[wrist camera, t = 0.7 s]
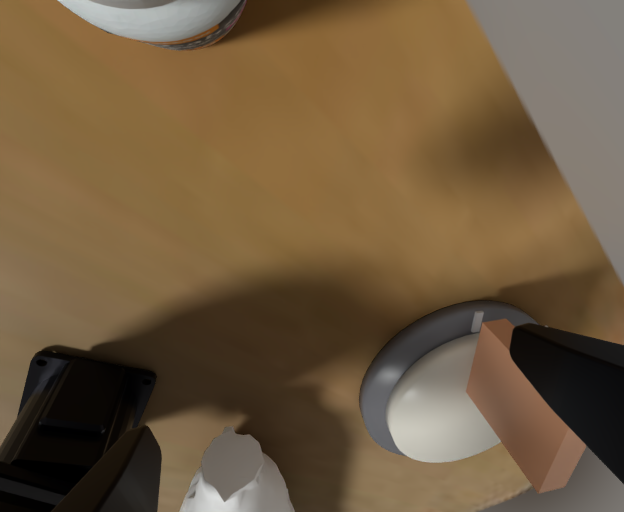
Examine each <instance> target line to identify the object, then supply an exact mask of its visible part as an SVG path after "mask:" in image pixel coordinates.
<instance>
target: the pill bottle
mask: <svg viewBox="0 0 624 512" xmlns="http://www.w3.org/2000/svg"><path fill="white" fill-rule="evenodd" d="M58 1H59V2H60V3H61V4H63V5H64V6H65V7H67V8H68V9H69V10H71V11H72V12H74V13H75V14H77V15H78V16H80V17H81V18H83V19H84V20H86V21H88V22H89V23H91V24H93V25H95V26H97V27H98V28H100V29H102V30H104V31H106V32H107V33H111V34H115V35H118V36H122V37H125V38H128V39H132V40H135V41H139V42H143V43H147V44H150V45H154V46H157V47H160V48H164V49H170V50H178V51H190V50H197V49H202V48H205V47H207V46H210V45H212V44H214V43H216V42H217V41H219V40H220V39H221V38H223V37H224V36H225V35H226V34H227V33H228V32H229V31H230V30H231V29H232V28H233V26H234V25H235V24H236V22H237V21H238V19H239V17H240V16H241V14H242V12H243V10H244V8H245V5H246V2H247V0H58Z"/></svg>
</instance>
